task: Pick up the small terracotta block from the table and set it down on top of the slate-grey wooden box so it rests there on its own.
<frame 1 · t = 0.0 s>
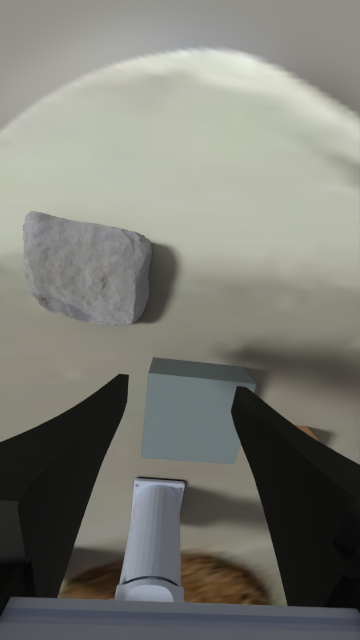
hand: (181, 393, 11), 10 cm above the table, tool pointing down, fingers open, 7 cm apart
stone block: (100, 277, 19), on the table
slate box: (192, 398, 23), on the table
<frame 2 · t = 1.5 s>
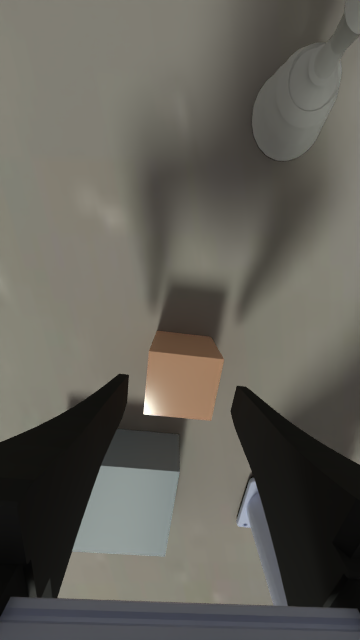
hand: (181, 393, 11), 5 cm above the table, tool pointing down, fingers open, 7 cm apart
chalice: (286, 119, 12), on the table
terracotta block: (180, 357, 16), on the table
slate box: (122, 467, 20), on the table
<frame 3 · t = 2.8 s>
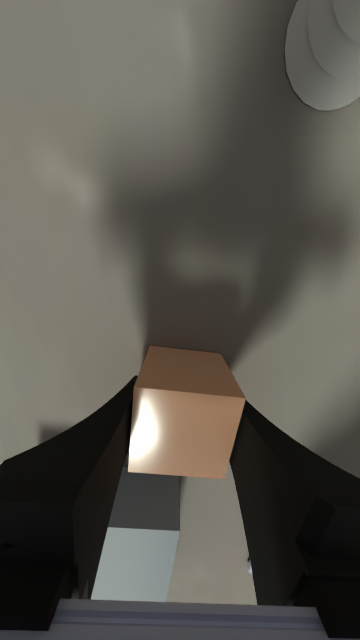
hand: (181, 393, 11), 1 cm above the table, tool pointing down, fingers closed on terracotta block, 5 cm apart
chalice: (333, 47, 8), on the table
terracotta block: (180, 380, 12), on the table, touching gripper
slate box: (110, 506, 16), on the table
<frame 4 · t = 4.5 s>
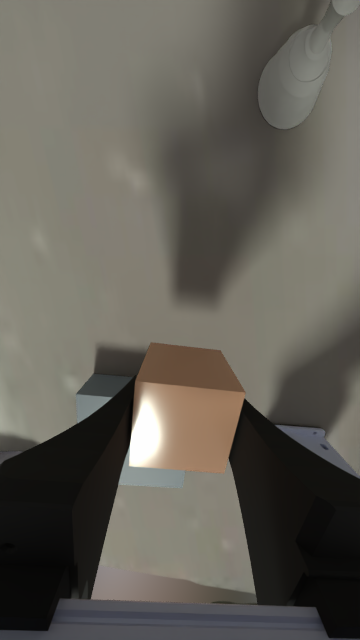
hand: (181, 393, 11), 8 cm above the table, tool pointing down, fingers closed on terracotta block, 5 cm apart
chalice: (286, 92, 14), on the table
terracotta block: (181, 377, 12), point 7 cm above the table, touching gripper
slate box: (141, 416, 22), on the table
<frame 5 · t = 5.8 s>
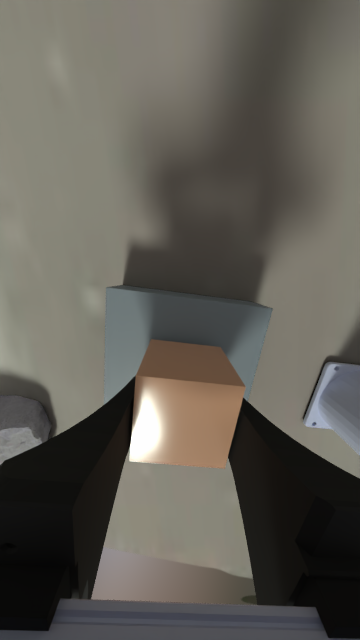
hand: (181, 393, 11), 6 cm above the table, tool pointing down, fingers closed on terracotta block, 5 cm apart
stone block: (16, 433, 19), on the table
terracotta block: (181, 374, 12), point 4 cm above the table, touching gripper
slate box: (179, 351, 17), on the table
when the fingers open (6 cm above the table, at t = 6.5 s): terracotta block stays where it is, resting on slate box.
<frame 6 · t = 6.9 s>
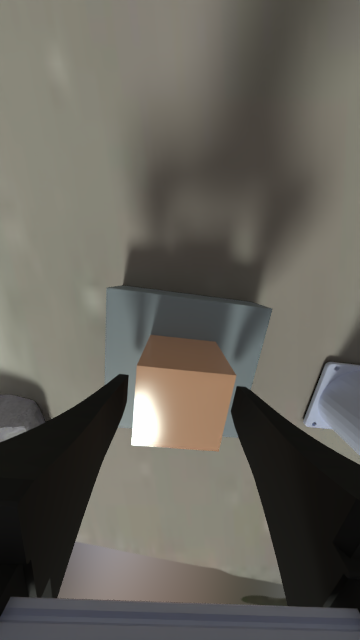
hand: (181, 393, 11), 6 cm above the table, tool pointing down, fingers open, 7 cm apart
stone block: (12, 433, 19), on the table
terracotta block: (179, 367, 13), point 4 cm above the table, touching slate box
slate box: (179, 351, 17), on the table, touching terracotta block
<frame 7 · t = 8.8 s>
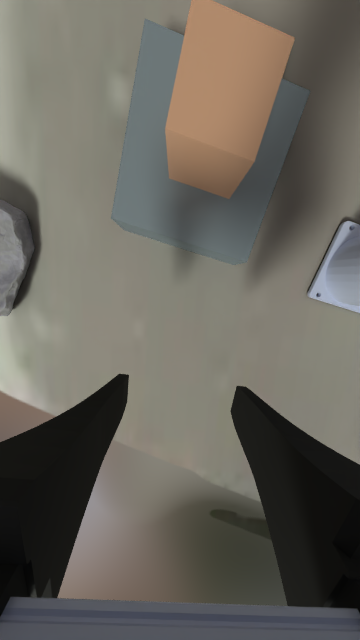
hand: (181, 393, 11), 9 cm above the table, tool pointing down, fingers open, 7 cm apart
terracotta block: (209, 151, 12), point 4 cm above the table
slate box: (197, 186, 16), on the table
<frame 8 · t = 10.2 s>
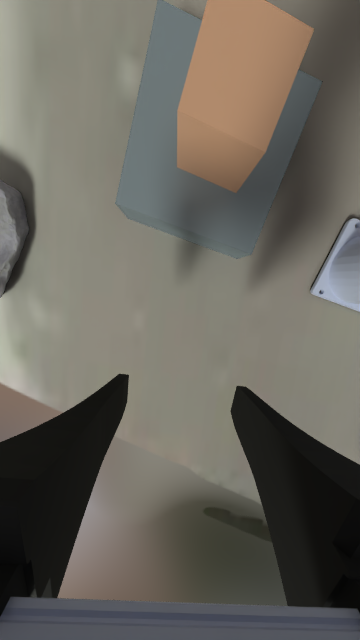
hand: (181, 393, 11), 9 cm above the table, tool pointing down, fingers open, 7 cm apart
terracotta block: (219, 143, 12), point 4 cm above the table, touching slate box
slate box: (203, 177, 16), on the table, touching terracotta block
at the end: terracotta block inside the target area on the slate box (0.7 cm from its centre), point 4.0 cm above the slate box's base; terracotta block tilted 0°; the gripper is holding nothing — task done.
